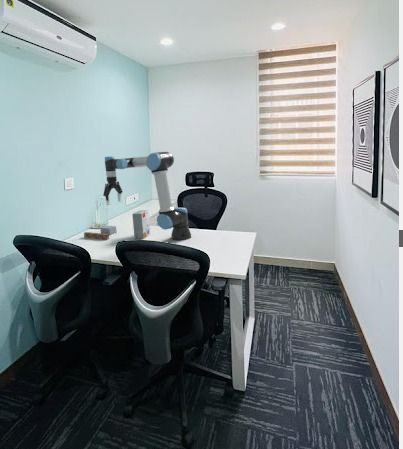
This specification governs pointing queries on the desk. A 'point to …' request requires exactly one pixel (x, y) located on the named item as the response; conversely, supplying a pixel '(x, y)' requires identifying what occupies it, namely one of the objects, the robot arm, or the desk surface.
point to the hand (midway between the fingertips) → (114, 203)
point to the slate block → (108, 230)
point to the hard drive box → (141, 224)
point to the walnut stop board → (96, 235)
